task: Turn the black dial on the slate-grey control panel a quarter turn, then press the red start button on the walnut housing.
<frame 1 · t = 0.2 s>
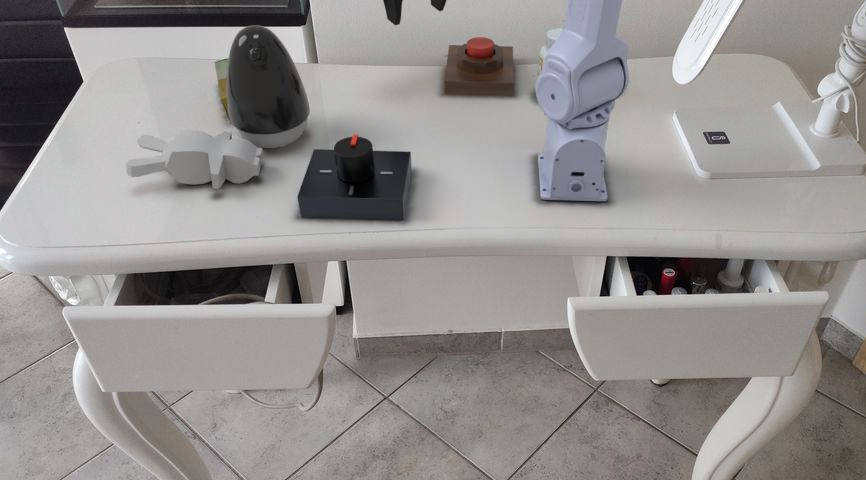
hand: (415, 14, 100), 10 cm above the table, tool pointing down, fingers open, 7 cm apart
start button: (480, 48, 106), point 4 cm above the table, slide at 0.1 cm
black glossy egg shape: (275, 139, 96), on the table
button box: (479, 76, 109), on the table
dial panel: (358, 193, 87), on the table
medication box: (234, 104, 102), on the table
bunny figurine: (202, 176, 89), on the table
dial: (354, 158, 83), point 5 cm above the table, hinge at 0.0°
supplement bottle: (554, 98, 104), on the table
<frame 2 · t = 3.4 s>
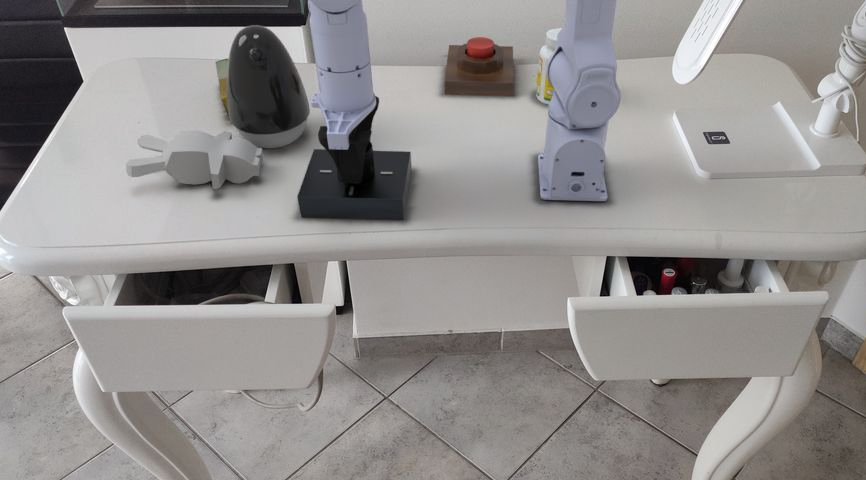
hand: (355, 169, 84), 4 cm above the table, tool pointing down, fingers closed on dial, 4 cm apart
dial: (354, 158, 83), point 5 cm above the table, hinge at -0.1°, touching gripper
everything else where it was.
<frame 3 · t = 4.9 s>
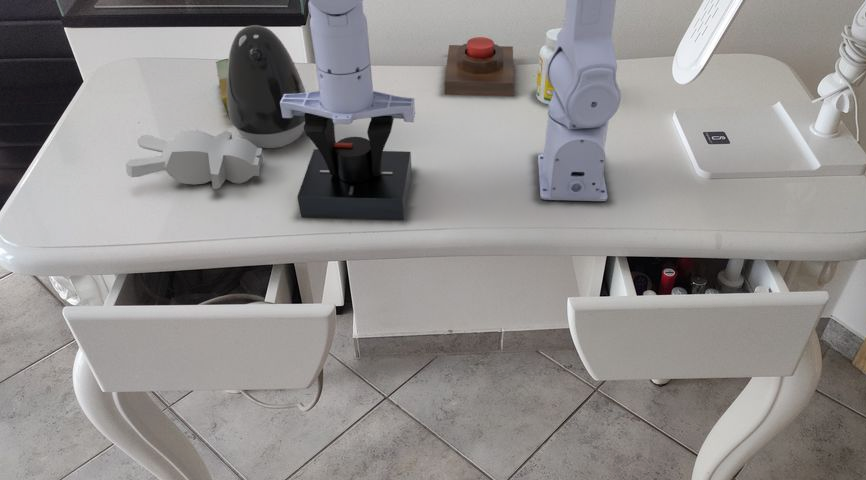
hand: (355, 170, 84), 3 cm above the table, tool pointing down, fingers closed on dial, 4 cm apart
dial: (354, 158, 83), point 5 cm above the table, hinge at 89.6°, touching gripper
everything else where it was.
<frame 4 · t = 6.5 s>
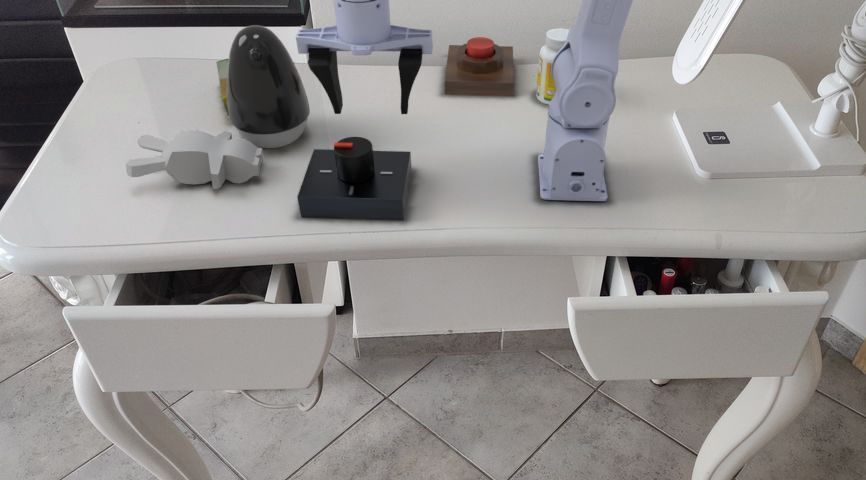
hand: (371, 109, 83), 9 cm above the table, tool pointing down, fingers open, 7 cm apart
dial: (354, 158, 83), point 5 cm above the table, hinge at 89.7°
everything else where it was.
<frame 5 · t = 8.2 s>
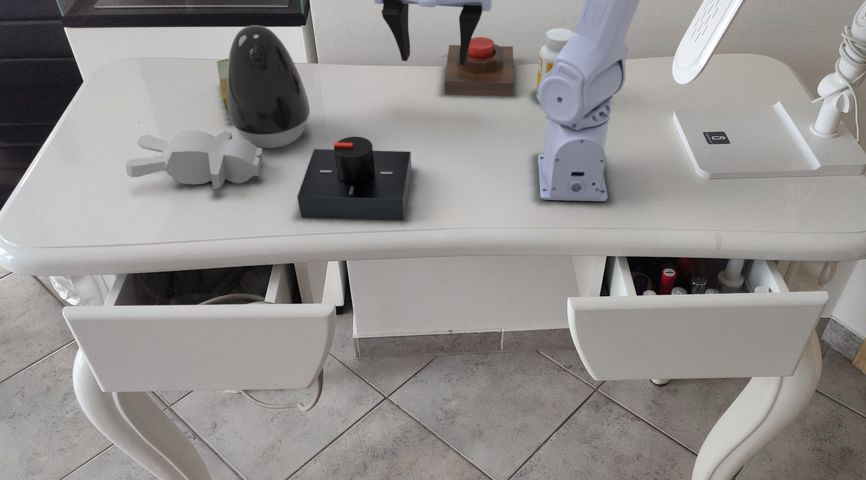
hand: (434, 59, 94), 9 cm above the table, tool pointing down, fingers open, 7 cm apart
nothing on the table moved.
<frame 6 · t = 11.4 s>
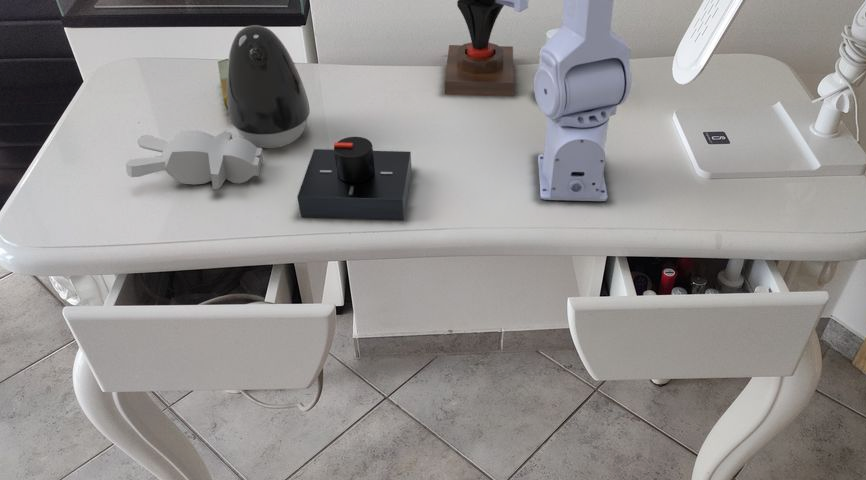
hand: (480, 46, 106), 5 cm above the table, tool pointing down, fingers closed, pressing on start button
start button: (480, 52, 106), point 4 cm above the table, slide at -0.5 cm, touching gripper
everything else where it was.
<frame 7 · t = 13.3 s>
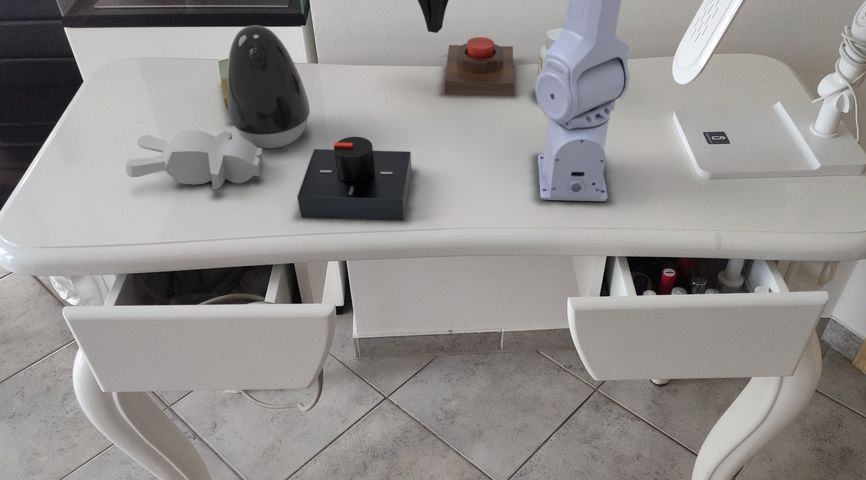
hand: (435, 29, 99), 9 cm above the table, tool pointing down, fingers closed
start button: (480, 48, 106), point 4 cm above the table, slide at 0.1 cm
everything else where it was.
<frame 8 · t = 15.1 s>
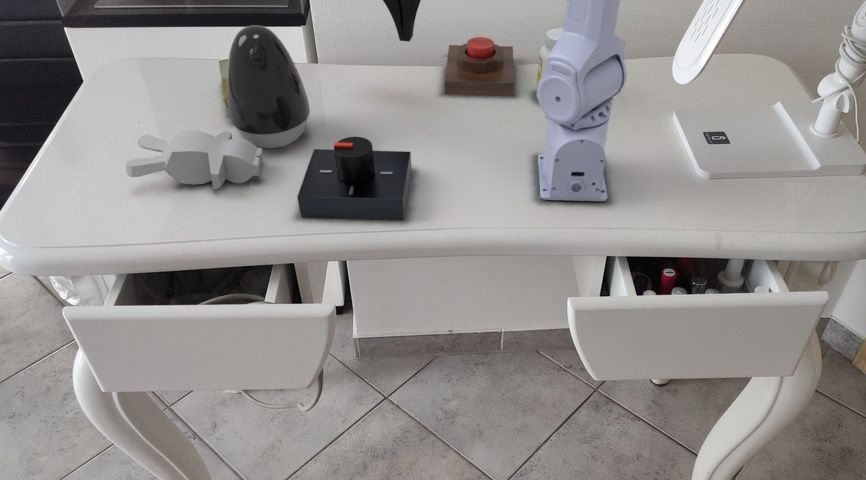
hand: (406, 38, 97), 9 cm above the table, tool pointing down, fingers closed
nothing on the table moved.
at the end: dial at +90° (first picture: +0°); start button pushed in 1.2 cm at the most during the clip, back to where it started at the end; start button slide at 0.1 cm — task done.
